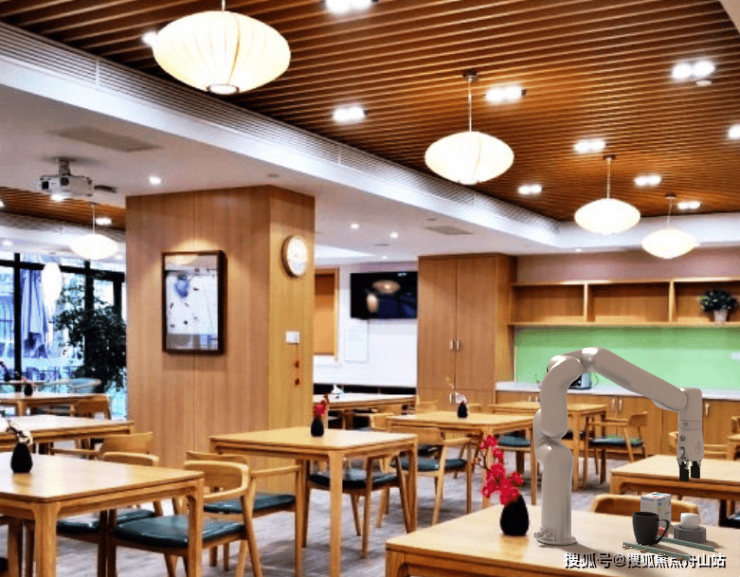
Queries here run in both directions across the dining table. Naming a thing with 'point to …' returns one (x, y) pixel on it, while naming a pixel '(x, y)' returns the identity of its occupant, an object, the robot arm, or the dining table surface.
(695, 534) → the housing
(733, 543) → the dining table surface
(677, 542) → the track
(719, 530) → the dining table surface
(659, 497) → the light bulb box
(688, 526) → the button
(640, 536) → the mug
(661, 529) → the die
